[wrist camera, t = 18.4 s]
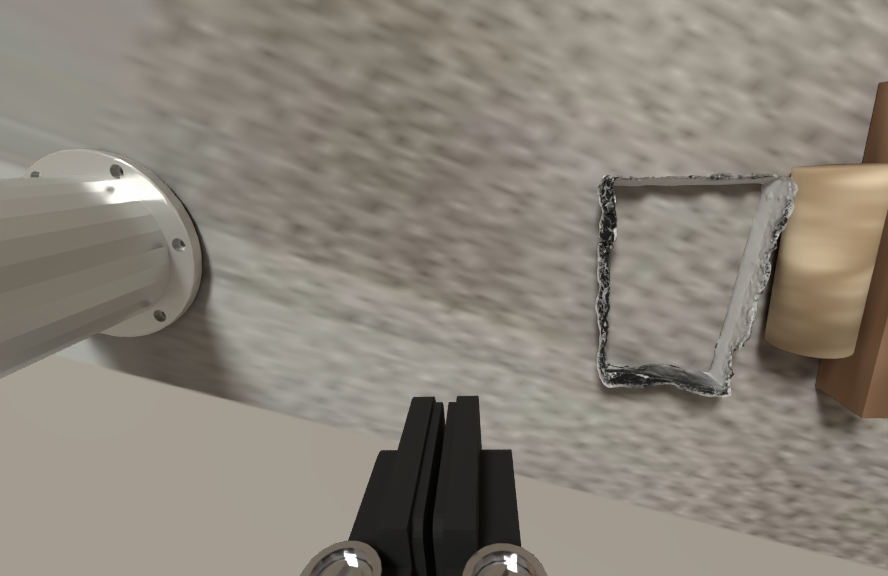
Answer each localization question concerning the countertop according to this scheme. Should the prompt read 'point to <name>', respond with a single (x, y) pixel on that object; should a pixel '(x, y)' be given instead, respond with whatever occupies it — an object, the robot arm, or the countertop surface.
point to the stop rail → (867, 311)
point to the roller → (827, 258)
